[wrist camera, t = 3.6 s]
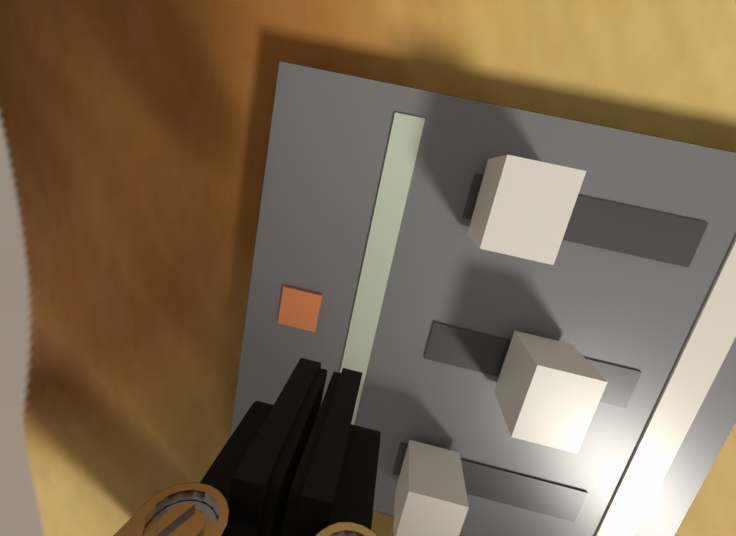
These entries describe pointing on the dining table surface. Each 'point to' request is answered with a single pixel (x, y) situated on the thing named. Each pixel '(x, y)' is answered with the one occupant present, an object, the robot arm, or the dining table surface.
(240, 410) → the panel
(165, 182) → the dining table surface
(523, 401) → the handle
